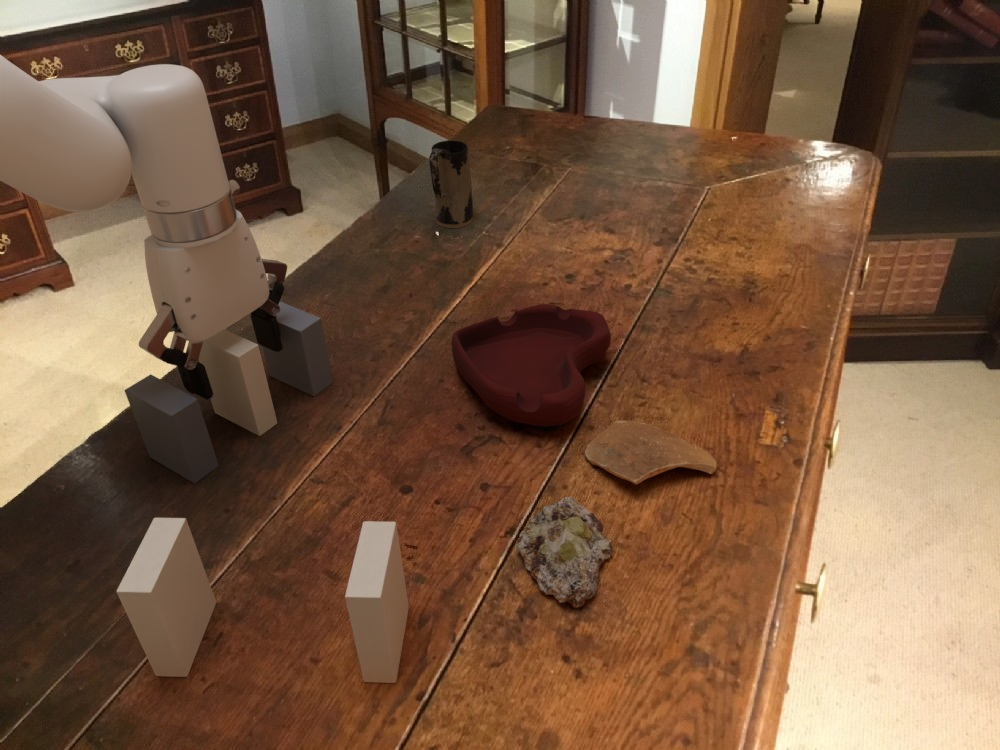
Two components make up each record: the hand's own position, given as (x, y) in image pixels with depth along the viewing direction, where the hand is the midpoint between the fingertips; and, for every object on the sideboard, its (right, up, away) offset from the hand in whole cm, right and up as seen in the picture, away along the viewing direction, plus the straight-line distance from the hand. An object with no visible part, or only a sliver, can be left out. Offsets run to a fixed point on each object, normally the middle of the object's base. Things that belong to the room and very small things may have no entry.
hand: (236, 369), depth 86 cm
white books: (+10, -22, -19) cm, 30 cm away
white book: (0, -5, +4) cm, 6 cm away
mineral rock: (+32, -17, -13) cm, 38 cm away
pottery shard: (+41, -9, -3) cm, 42 cm away
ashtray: (+29, -1, +7) cm, 30 cm away
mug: (+20, +21, +38) cm, 48 cm away
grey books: (0, -5, +4) cm, 6 cm away
